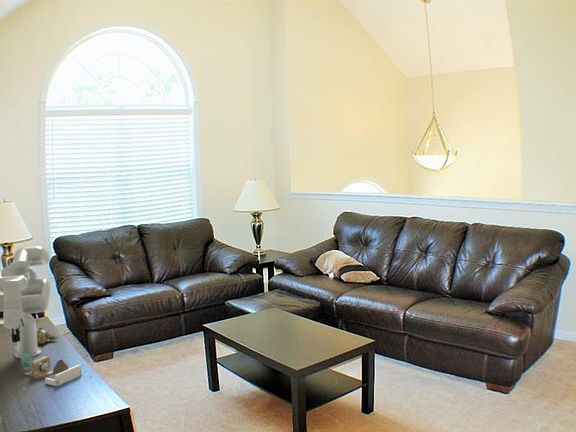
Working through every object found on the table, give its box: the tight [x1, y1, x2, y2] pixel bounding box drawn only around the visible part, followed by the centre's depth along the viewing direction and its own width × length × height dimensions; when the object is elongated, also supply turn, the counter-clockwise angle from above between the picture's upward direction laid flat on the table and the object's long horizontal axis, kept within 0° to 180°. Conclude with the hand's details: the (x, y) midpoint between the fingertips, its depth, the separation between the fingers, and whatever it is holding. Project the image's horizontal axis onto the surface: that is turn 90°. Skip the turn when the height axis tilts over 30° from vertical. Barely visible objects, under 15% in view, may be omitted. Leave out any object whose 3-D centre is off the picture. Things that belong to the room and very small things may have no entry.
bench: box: [23, 356, 54, 379], centre depth 272 cm, size 13×8×7 cm, turn 62°
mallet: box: [20, 352, 49, 372], centre depth 273 cm, size 14×5×8 cm, turn 62°
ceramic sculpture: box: [36, 327, 59, 345], centre depth 320 cm, size 11×9×15 cm
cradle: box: [44, 364, 82, 387], centre depth 264 cm, size 8×14×5 cm, turn 152°
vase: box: [52, 359, 70, 378], centre depth 265 cm, size 7×7×9 cm
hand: (16, 341), depth 277 cm, fingers closed
